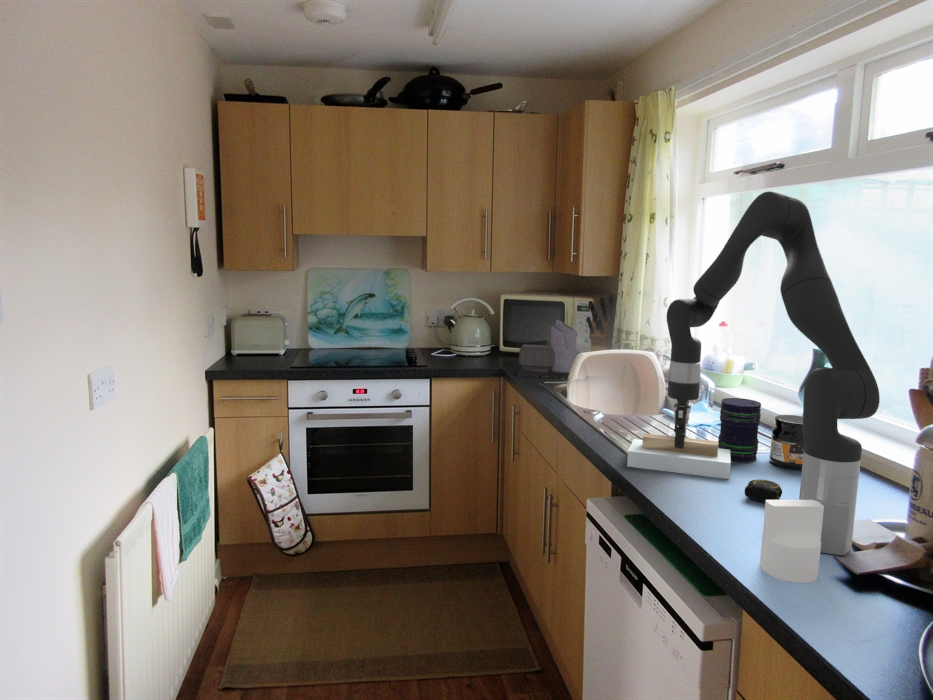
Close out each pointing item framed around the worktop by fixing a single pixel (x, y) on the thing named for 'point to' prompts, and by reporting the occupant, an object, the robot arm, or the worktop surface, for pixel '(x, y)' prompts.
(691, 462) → the slot board
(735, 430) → the storage jar
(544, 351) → the juicer
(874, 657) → the worktop surface
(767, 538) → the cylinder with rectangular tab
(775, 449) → the supplement container
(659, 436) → the miniature wooden bench
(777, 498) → the tape measure
